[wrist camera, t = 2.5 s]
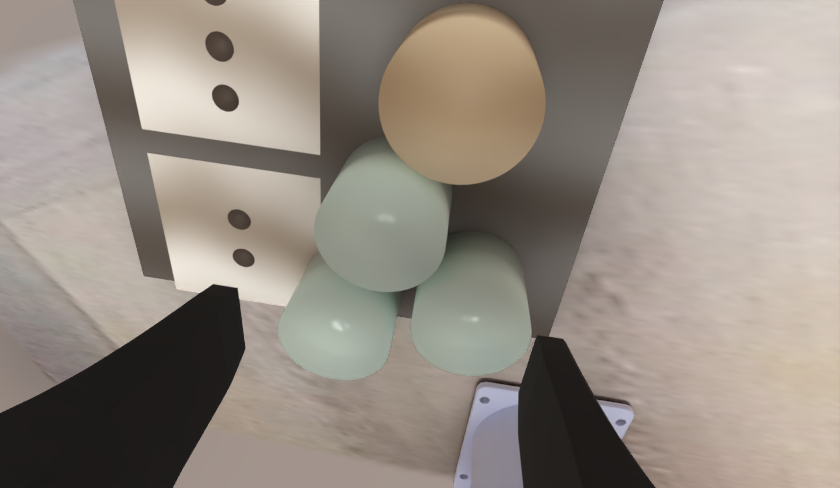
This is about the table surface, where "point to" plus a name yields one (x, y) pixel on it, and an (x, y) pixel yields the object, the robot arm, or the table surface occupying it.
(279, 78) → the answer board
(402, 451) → the table surface
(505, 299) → the pale green dome
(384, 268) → the mint cylinder
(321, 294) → the mint rounded block
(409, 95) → the beige rounded lump
